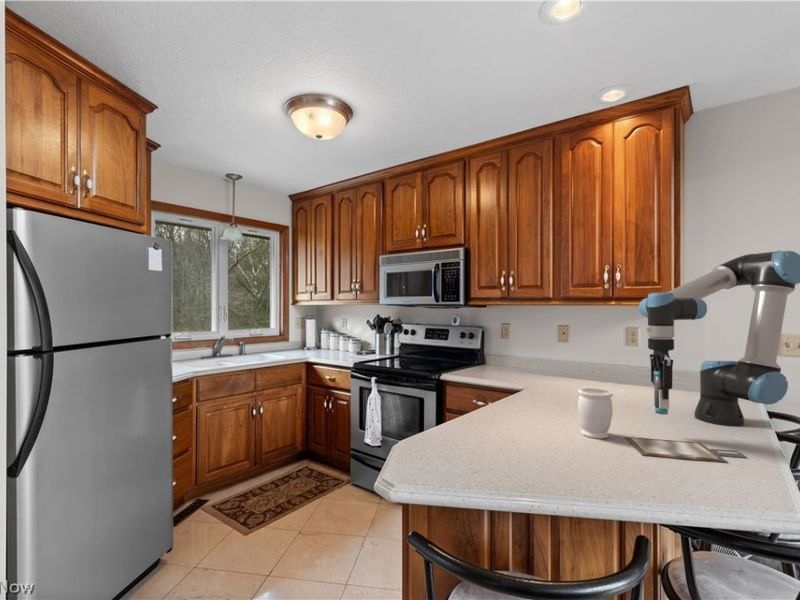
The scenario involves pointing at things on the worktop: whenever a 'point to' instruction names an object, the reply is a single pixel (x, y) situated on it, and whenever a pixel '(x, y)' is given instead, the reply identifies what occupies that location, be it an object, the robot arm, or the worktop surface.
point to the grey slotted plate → (728, 453)
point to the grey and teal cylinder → (656, 394)
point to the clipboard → (674, 449)
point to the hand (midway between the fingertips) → (661, 406)
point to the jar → (595, 412)
